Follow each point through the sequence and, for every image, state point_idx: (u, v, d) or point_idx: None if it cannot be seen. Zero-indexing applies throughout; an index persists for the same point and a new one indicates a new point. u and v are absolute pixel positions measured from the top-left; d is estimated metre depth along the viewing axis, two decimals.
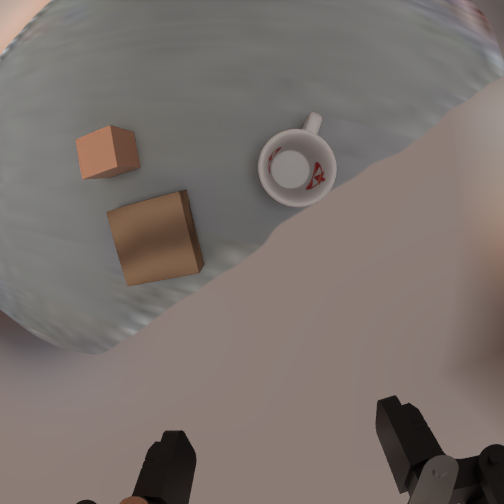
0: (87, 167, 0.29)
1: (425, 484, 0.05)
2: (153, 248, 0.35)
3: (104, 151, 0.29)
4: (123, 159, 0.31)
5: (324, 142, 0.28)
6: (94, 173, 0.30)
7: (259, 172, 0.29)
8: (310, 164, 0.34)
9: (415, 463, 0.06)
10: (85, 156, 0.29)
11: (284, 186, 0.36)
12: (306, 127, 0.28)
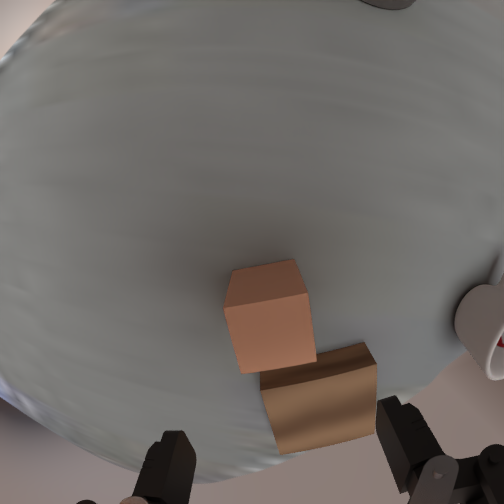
0: (253, 358, 0.18)
1: (425, 484, 0.05)
2: (326, 422, 0.24)
3: (292, 337, 0.18)
4: None
5: None
6: (268, 368, 0.18)
7: (489, 357, 0.17)
8: None
9: (415, 463, 0.06)
10: (249, 341, 0.18)
11: None
12: None
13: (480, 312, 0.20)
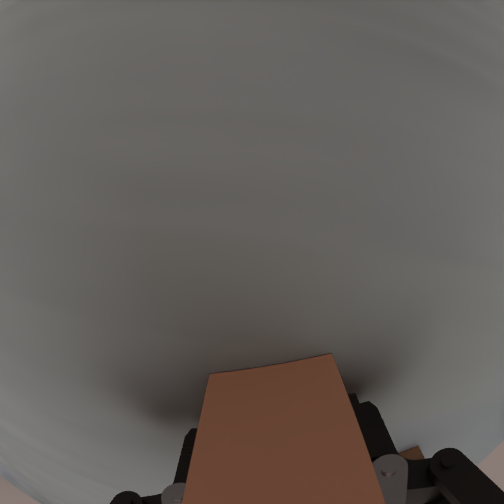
0: None
1: None
2: None
3: None
4: None
5: None
6: None
7: None
8: None
9: None
10: None
11: None
12: None
13: None
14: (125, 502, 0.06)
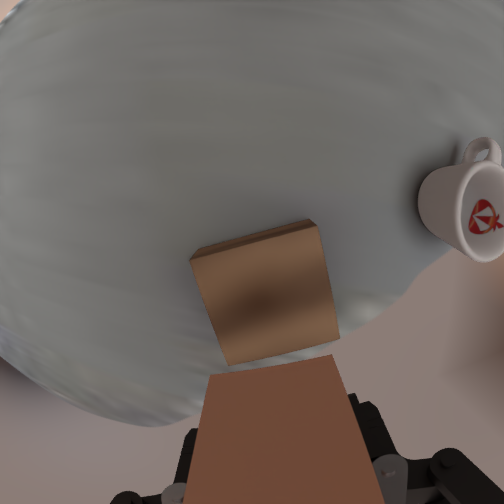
0: None
1: None
2: (273, 312, 0.24)
3: None
4: None
5: None
6: None
7: (457, 216, 0.17)
8: (466, 198, 0.23)
9: None
10: None
11: None
12: (492, 158, 0.17)
13: (439, 180, 0.20)
14: (125, 502, 0.06)
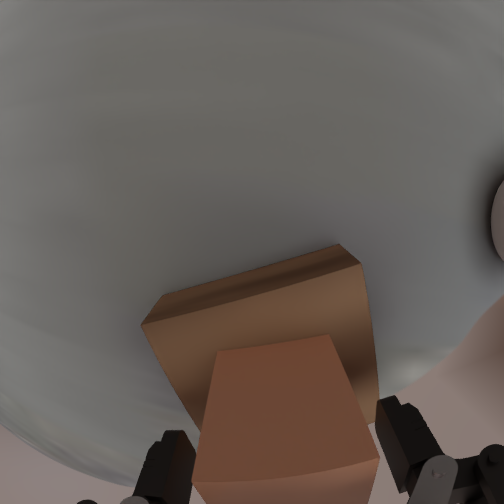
0: None
1: (424, 484, 0.05)
2: None
3: None
4: None
5: None
6: None
7: None
8: None
9: (414, 463, 0.06)
10: None
11: None
12: None
13: None
14: None
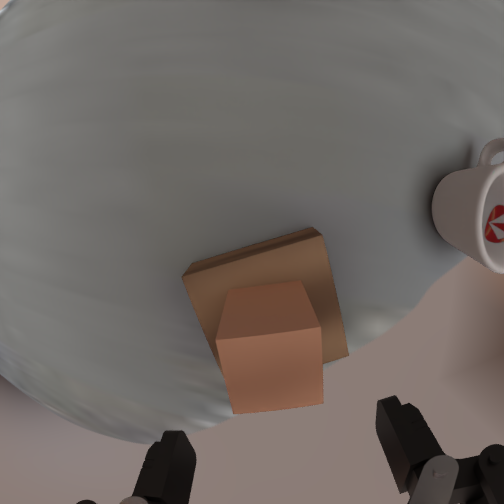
0: (249, 398, 0.14)
1: (425, 484, 0.05)
2: None
3: (297, 377, 0.14)
4: None
5: None
6: (266, 409, 0.15)
7: (478, 224, 0.15)
8: None
9: (415, 463, 0.06)
10: (245, 379, 0.14)
11: None
12: None
13: (456, 185, 0.18)
14: None
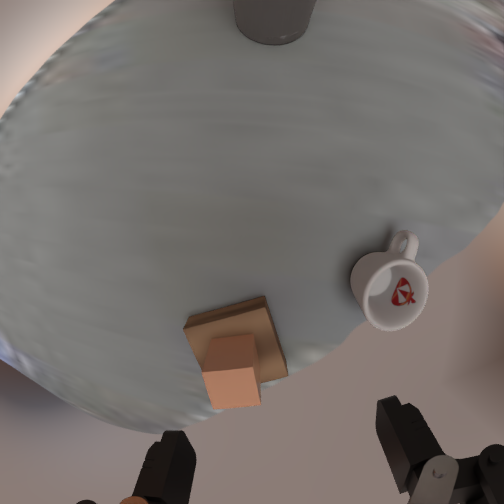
0: (220, 400, 0.28)
1: (425, 484, 0.05)
2: None
3: (244, 390, 0.27)
4: (259, 387, 0.29)
5: (422, 271, 0.27)
6: (230, 407, 0.28)
7: (364, 304, 0.28)
8: (393, 273, 0.34)
9: (415, 463, 0.06)
10: (217, 391, 0.27)
11: None
12: (406, 253, 0.28)
13: (361, 270, 0.31)
14: None
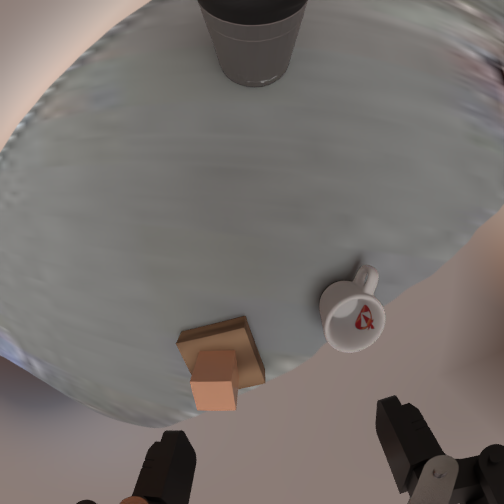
0: (203, 404, 0.34)
1: (425, 484, 0.05)
2: None
3: (223, 398, 0.33)
4: (236, 395, 0.35)
5: (379, 304, 0.33)
6: (211, 409, 0.34)
7: (325, 330, 0.34)
8: (359, 299, 0.39)
9: (415, 463, 0.06)
10: (202, 396, 0.33)
11: (335, 316, 0.41)
12: (365, 288, 0.33)
13: (326, 299, 0.36)
14: None
